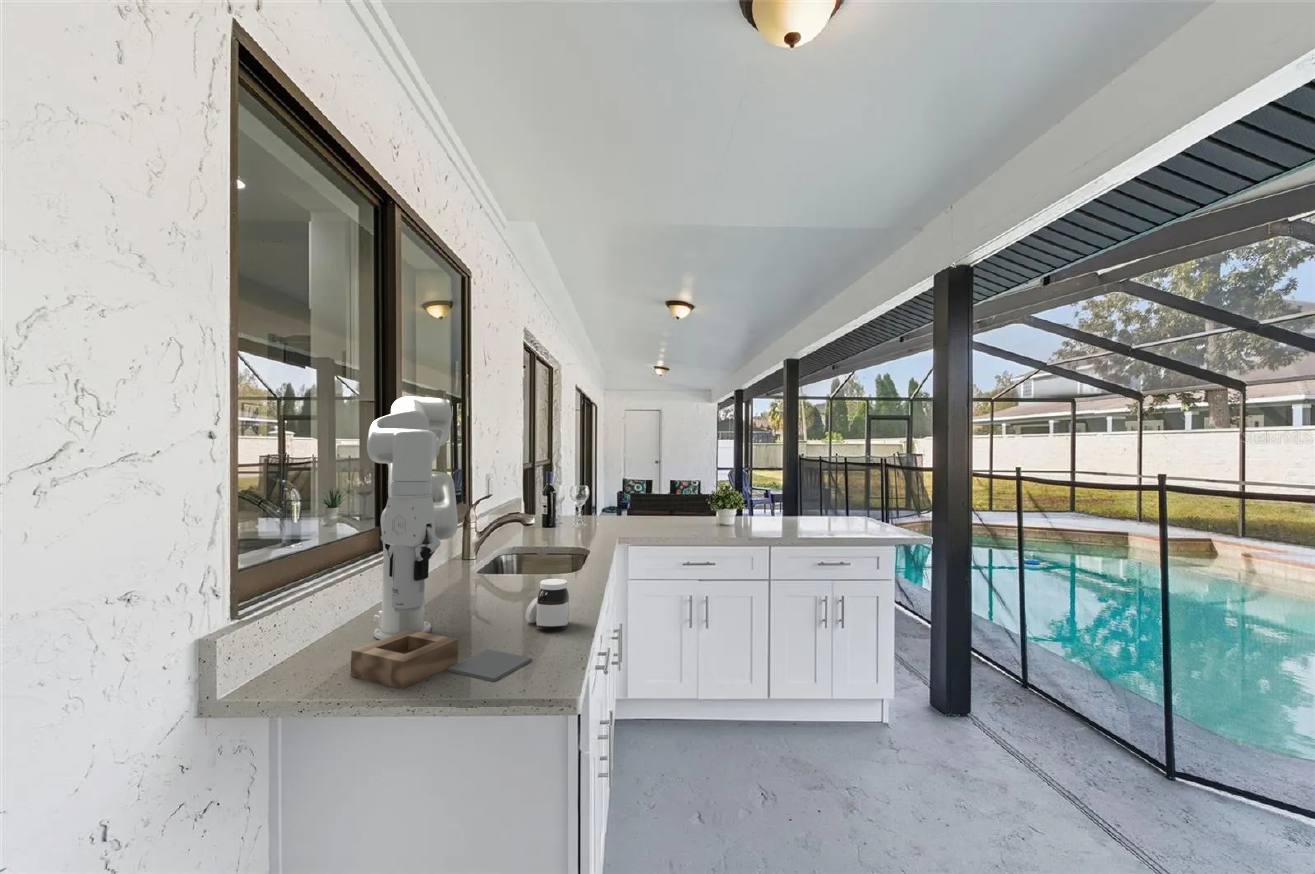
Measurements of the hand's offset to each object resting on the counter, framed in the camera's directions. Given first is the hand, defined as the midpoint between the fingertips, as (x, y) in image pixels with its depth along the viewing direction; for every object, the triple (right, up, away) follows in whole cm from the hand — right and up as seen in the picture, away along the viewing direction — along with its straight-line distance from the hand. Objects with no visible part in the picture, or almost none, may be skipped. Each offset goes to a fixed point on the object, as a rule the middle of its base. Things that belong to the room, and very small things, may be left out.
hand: (408, 576), depth 112 cm
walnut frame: (0, -19, -1) cm, 19 cm away
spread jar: (+22, -20, +28) cm, 42 cm away
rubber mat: (+16, -19, +2) cm, 25 cm away
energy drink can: (0, -7, 0) cm, 7 cm away
